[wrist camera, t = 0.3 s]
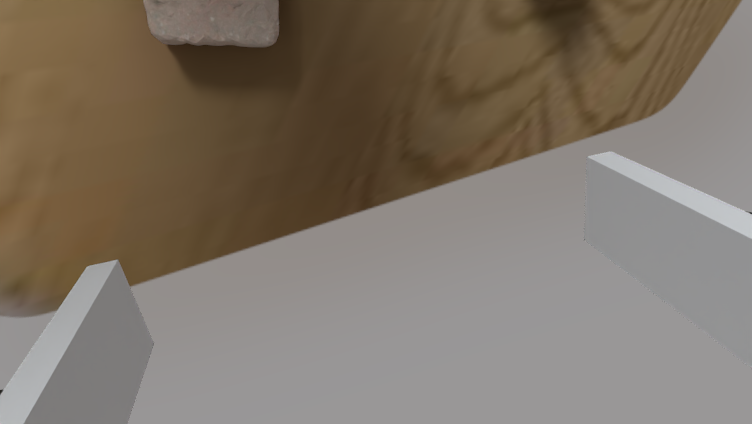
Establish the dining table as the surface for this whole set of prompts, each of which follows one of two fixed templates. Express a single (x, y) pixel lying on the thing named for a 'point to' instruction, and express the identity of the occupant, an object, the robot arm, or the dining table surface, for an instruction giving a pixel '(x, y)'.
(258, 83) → the dining table surface
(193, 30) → the brick
